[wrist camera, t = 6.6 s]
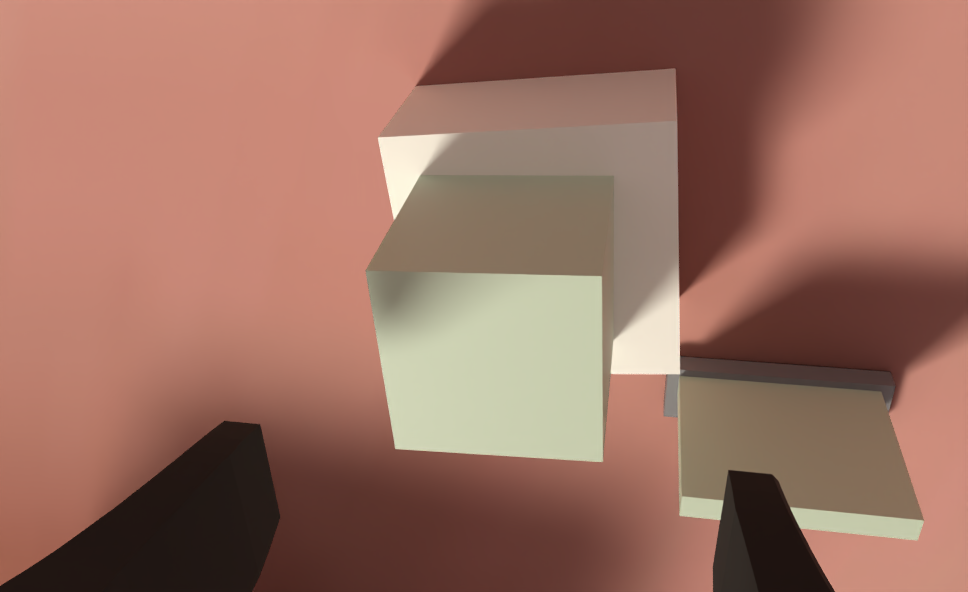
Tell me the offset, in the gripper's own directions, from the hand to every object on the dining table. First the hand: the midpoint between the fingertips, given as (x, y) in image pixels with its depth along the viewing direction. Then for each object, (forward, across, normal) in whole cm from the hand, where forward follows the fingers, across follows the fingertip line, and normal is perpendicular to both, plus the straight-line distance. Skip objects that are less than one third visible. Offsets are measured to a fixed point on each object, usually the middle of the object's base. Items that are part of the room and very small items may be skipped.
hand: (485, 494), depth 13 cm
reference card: (+10, -6, +5) cm, 12 cm away
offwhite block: (+10, 0, 0) cm, 10 cm away
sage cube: (+7, 0, 0) cm, 7 cm away
